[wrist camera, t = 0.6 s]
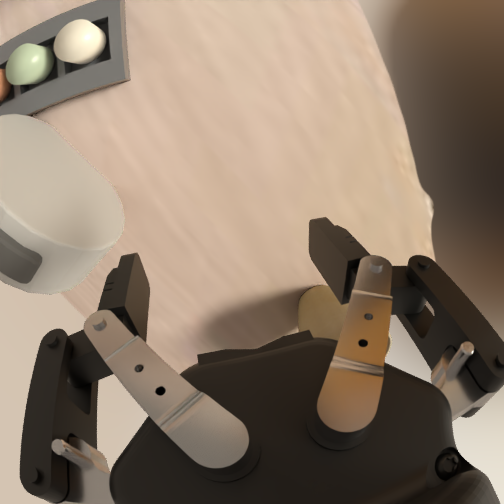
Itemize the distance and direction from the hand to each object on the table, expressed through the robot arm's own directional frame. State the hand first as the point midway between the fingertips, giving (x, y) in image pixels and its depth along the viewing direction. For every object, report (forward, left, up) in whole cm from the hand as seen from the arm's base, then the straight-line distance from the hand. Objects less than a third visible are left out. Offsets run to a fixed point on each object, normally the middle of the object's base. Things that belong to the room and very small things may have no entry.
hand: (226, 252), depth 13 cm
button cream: (-17, -12, -24) cm, 31 cm away
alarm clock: (-1, -19, -26) cm, 32 cm away
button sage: (-17, -19, -24) cm, 35 cm away
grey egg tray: (-17, -19, -26) cm, 36 cm away
